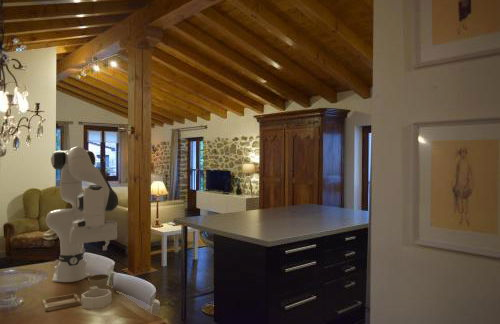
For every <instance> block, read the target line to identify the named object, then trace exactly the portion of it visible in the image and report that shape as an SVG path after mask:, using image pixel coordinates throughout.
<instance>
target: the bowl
mask: <svg viewBox="0 0 500 324" xmlns="http://www.w3.org/2000/svg"><path fill="white" fill-rule="evenodd" d="M99 295H100V297H95V298H93V297H91V296H90V289H89V290H87V291H85V292H83V293H81V295H80V300H81V305H80V306H82V308H84V309H86V310H87V309H88V310H92V309H93V310H95V309H100V308H105V307H107V306H109V305H110V304H111V303H112V300H113V299H112V291H111V290H110V289H109V288H106V289H99Z"/></svg>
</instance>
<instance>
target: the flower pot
mask: <svg viewBox="0 0 500 324" xmlns="http://www.w3.org/2000/svg"><path fill="white" fill-rule="evenodd" d="M109 277H110V275H108V274H105V273H104V274H103V273H101V274H94V275H90V276H88V277H87V279H88V282H89V284H90V286H89V287H93V286H97V287H98V288H99V289H107V285H108V280H109Z"/></svg>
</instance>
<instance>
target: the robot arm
mask: <svg viewBox="0 0 500 324" xmlns="http://www.w3.org/2000/svg"><path fill="white" fill-rule="evenodd" d="M50 162H51V166H52V167H53V169H55V170H58V171H61V172H60V176H59V181H60V183H59V188H60V189H59V193H60V194H59V195H60V198H61V199H62V201H64V202H66V203H69V204H70V205H71V206H72V207H70V208H59V209H58V208H57V209H54V210H50V211H49V212H48V213H47V214H46V217H45V224H46V226H47V227H48V228H49V229H50V230H51V231H53V232H54V233H55V234H56V235H57V237H58V239H59V244H60V245H59V246H60V253H59V262H58V264H57V265H56V266H54V267H53V268H54V269H53V270H54V273H53V277H52V280H51V281H52V282H56V283H57V282H59V283H73V282H78V281H80V280H84V279H85V278H89V277H90V276H91V275H90V274H91V273H88V272H87V261H85V259H84V256H85V255H84V254H86V249H85V248H83V246H84V245H83V244H89V243H96V242H105V244H104V245H102V251H107V250H108V245H109V244H110V241H113V240H117V238H118V222H117V220H115V219H105V217H106V216H105V212H112V211H114V210H115V209H117V207H118V205H119V198H118V194H117V193H116V192H115V190H114V189H113V188H112V186H111V185H110V183H109V181H108V179H107V177H106V176H105V174H104V173H103V171H102V170H101V169H99V168H98V167H96V166H95V164H96V156H95V153H94V151H91V150H86V148H83V147H81V146H74V147H72V148H70V149H66V150H61V149H60V150H55V151H54V152H52V155H51V157H50ZM83 182H87V183H92V184H89V185H87V186H85V187H84V191H83Z"/></svg>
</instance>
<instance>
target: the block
mask: <svg viewBox="0 0 500 324" xmlns="http://www.w3.org/2000/svg"><path fill="white" fill-rule="evenodd" d="M89 290H90V296H91V297H96V296H99V288H98V287H97V286H93V287H91V286H89Z"/></svg>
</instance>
